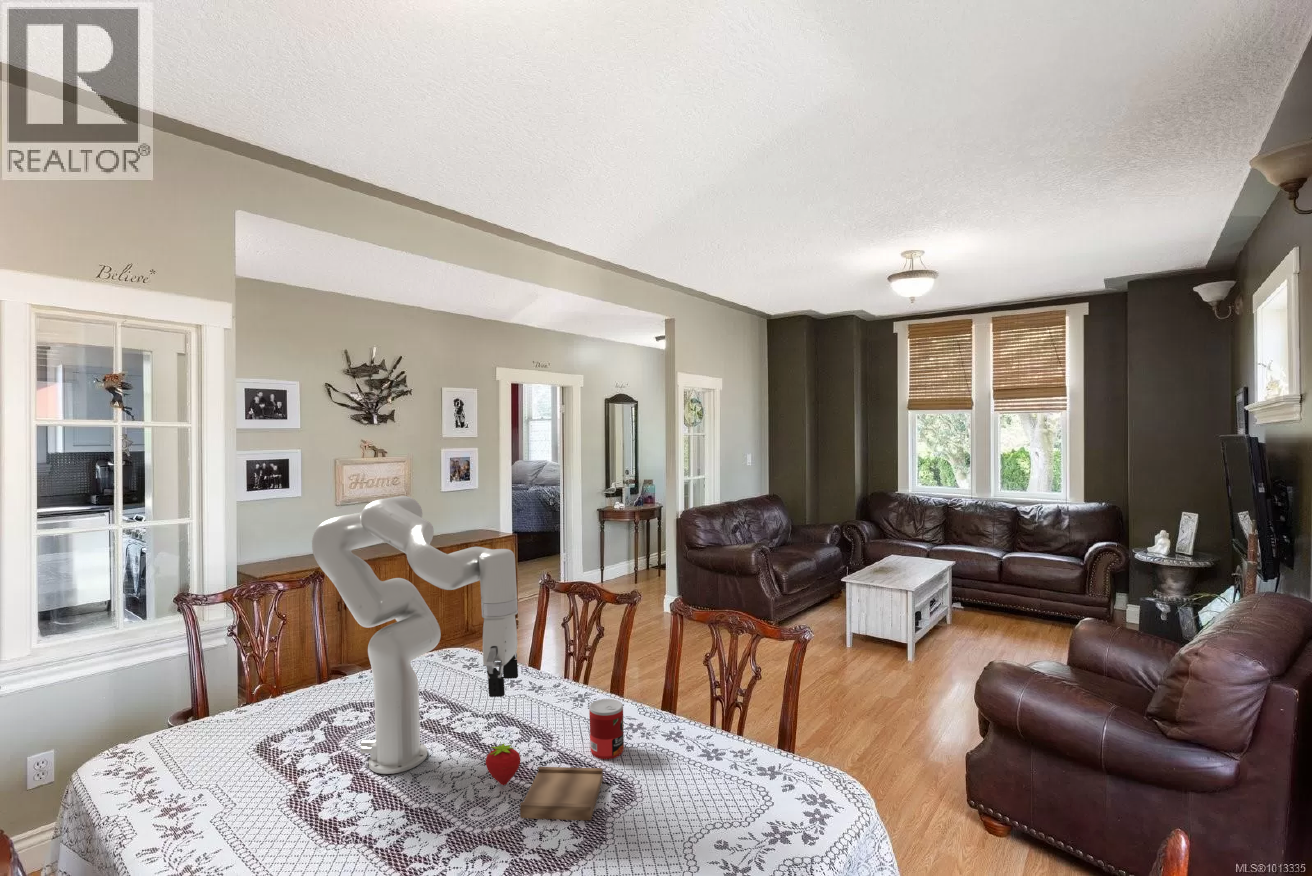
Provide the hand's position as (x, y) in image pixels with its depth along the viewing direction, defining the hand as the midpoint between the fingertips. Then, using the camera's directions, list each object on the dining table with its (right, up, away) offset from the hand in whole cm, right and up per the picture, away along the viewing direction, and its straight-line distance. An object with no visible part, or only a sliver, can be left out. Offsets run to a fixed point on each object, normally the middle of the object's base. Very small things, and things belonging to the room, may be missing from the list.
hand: (504, 686), depth 136 cm
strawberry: (0, -21, -1) cm, 21 cm away
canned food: (+21, -21, +13) cm, 32 cm away
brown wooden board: (+14, -21, -6) cm, 25 cm away
